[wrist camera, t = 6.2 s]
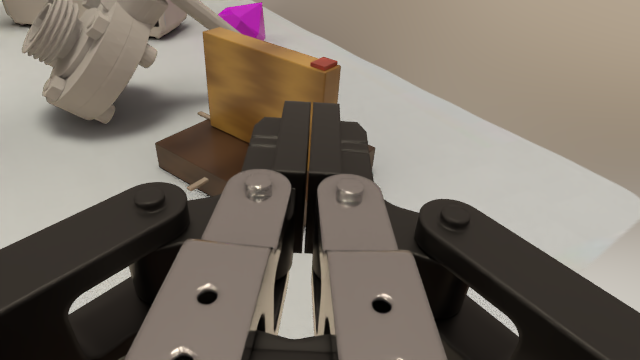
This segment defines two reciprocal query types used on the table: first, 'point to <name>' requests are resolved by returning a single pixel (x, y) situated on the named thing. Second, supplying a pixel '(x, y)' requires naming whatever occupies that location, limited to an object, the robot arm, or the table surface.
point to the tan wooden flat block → (261, 81)
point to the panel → (208, 157)
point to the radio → (27, 3)
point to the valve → (100, 48)
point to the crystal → (246, 19)
